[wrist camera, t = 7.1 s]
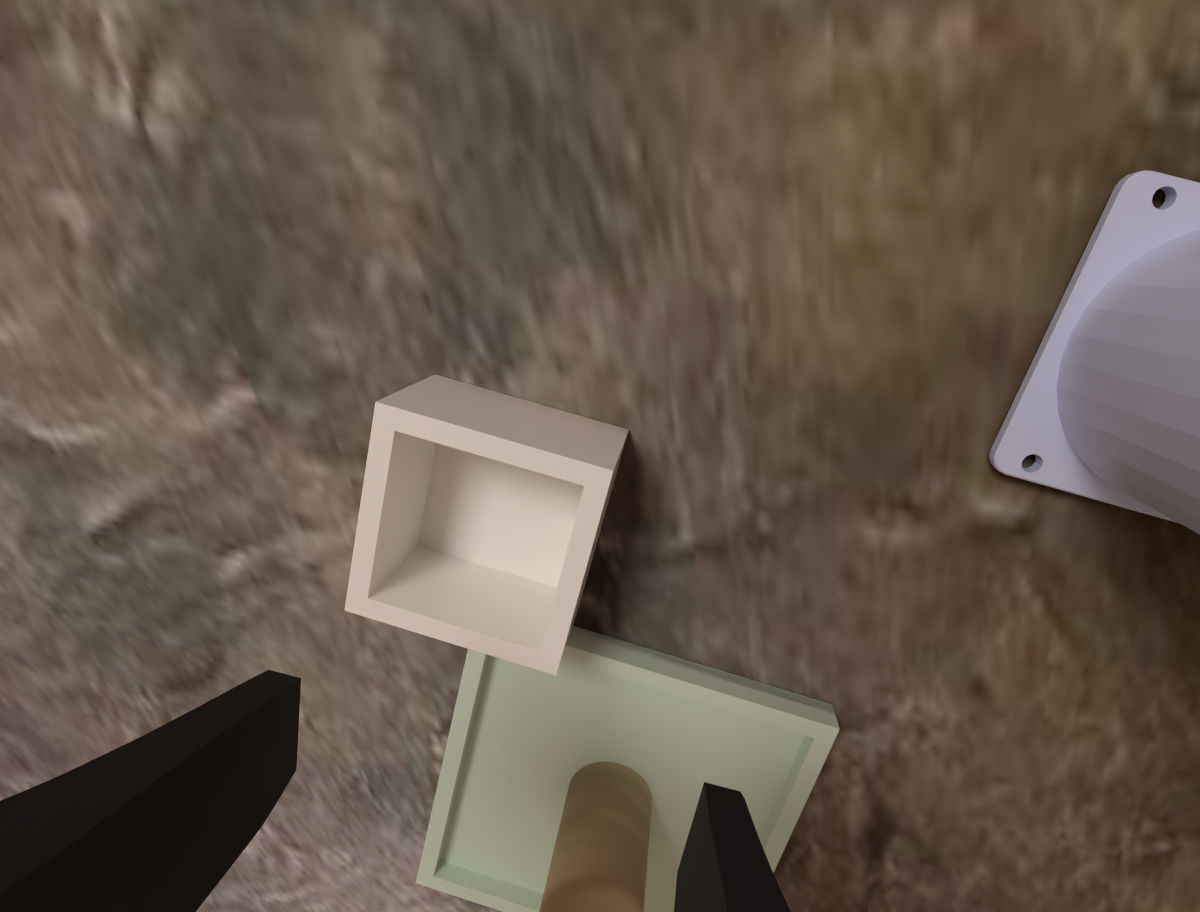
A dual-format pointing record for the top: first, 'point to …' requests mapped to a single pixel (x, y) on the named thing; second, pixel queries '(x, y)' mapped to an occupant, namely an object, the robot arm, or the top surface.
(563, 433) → the open box
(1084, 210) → the top surface
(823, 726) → the tray
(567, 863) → the dowel
